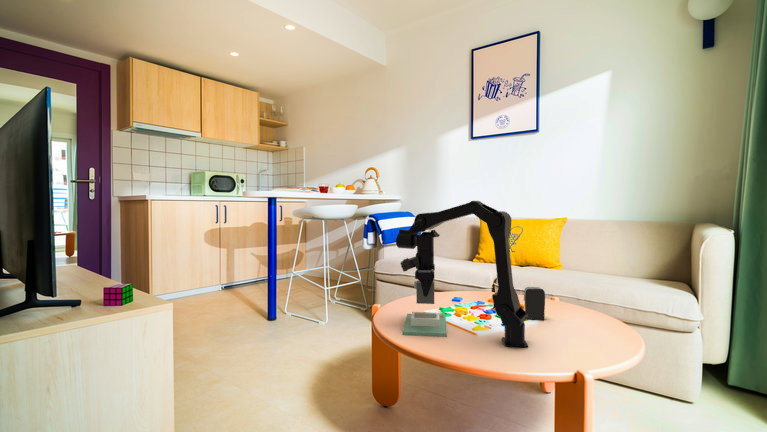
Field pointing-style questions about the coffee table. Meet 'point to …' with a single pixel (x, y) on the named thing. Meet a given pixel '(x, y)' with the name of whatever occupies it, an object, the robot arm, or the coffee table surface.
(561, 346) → the coffee table surface
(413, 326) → the board
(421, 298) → the plug
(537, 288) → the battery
